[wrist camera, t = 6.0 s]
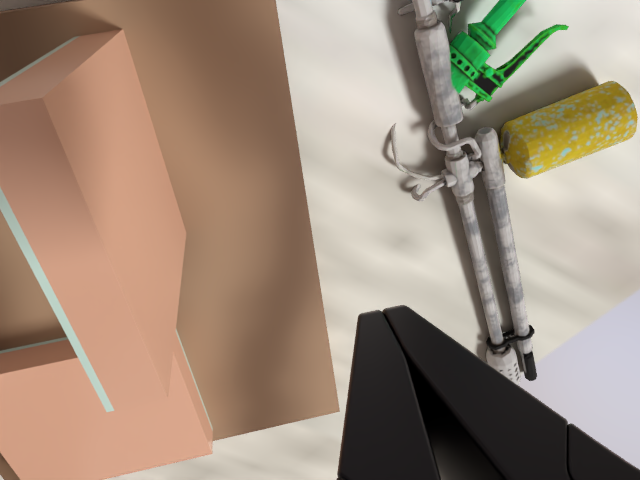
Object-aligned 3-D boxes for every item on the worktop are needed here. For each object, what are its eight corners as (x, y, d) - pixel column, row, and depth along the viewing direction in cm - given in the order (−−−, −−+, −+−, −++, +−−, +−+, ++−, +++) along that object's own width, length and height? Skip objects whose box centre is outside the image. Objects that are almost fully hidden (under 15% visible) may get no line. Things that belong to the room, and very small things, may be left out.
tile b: (147, 240, 21) (106, 412, 13) (74, 37, 16) (-51, 113, 9) (186, 232, 21) (168, 398, 13) (123, 29, 17) (42, 97, 9)
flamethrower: (588, -300, 15) (289, -161, 16) (647, -337, 13) (297, -173, 14) (611, 327, 31) (460, 381, 32) (640, 358, 29) (477, 415, 30)
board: (18, 467, 27) (10, 487, 26) (-283, 54, 16) (-318, 61, 15) (335, 395, 29) (339, 411, 28) (267, -30, 18) (271, -29, 17)
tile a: (212, 428, 27) (42, 467, 26) (171, 315, 23) (-34, 357, 22) (212, 453, 26) (32, 496, 25) (168, 338, 21) (-51, 384, 21)
